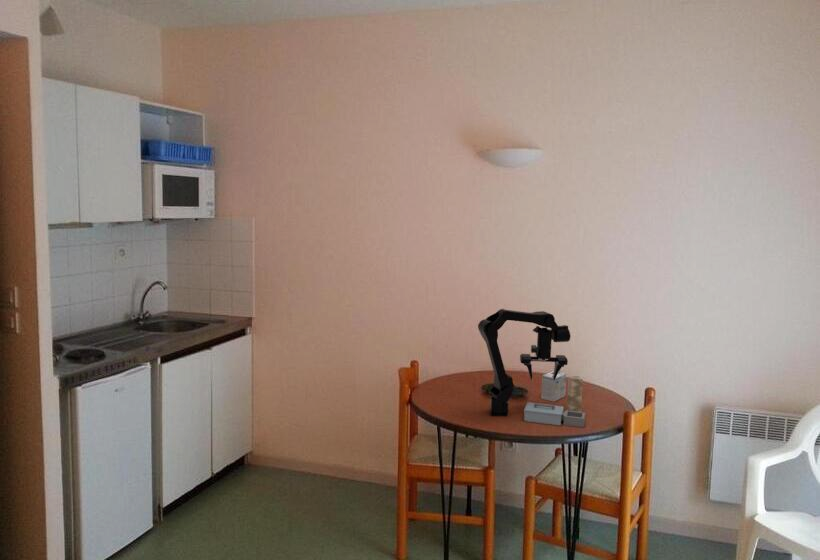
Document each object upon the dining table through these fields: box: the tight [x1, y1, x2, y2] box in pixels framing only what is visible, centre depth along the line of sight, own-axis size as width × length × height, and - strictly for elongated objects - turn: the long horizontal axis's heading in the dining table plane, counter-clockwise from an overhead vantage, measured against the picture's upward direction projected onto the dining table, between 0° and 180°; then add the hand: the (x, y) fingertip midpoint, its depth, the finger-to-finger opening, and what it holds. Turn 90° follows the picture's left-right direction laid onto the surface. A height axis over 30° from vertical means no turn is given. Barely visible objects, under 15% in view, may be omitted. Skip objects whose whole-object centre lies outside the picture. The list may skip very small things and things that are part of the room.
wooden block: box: [566, 375, 584, 412], centre depth 268 cm, size 4×4×15 cm
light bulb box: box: [541, 370, 567, 402], centre depth 289 cm, size 11×7×11 cm, turn 141°
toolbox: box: [523, 401, 586, 428], centre depth 260 cm, size 23×10×6 cm, turn 72°
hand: (542, 379), depth 270 cm, fingers open, 9 cm apart
